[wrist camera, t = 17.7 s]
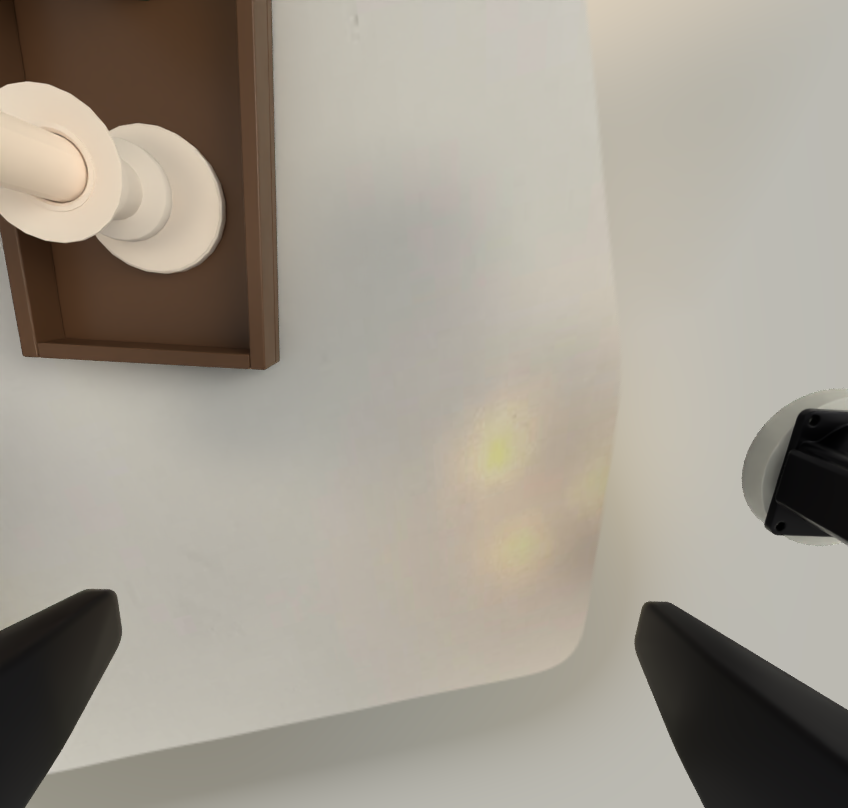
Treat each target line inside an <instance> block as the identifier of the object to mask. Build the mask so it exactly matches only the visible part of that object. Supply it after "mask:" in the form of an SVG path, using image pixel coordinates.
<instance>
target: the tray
mask: <svg viewBox="0 0 848 808" xmlns="http://www.w3.org/2000/svg"><path fill="white" fill-rule="evenodd" d="M26 81H29V82H36V83H43V84H49V85H51V86H54V87H56V88H58V89H61V90H63V91H65V92H68V93H70V94H72V95H73V96H74V97H76V98H77V99H79V100H80V101H81V102H83V103H84V104H85V105H87V106H88V107H89V108H91V110H92V111H93V112H94V113H95V114H96V115H97V116H98V118H99V119H100V120H101V121H102V122H103V123H104V124H105V126H106V127H107V129H108V131H110V130H112V129H114V128H116V127H118V126H122V125H129V124H135V123H141V124H148V125H155V126H159V127H162V128H164V129H166V130H169V131H171V132H173V133H176V134H177V135H179V136H180V137H182V138H183V139H185V140H186V141H187V142H189V143H190V144H191V145H193V146H194V147H195V148H197V149H198V150H199V151H200V153H201V154H202V155H203V156H204V157H205V158H206V160H207V161H208V162H209V163H210V164H211V166H212V168H213V170H214V171H215V173H216V175H217V177H218V179H219V181H220V183H221V186H222V190H223V194H224V198H225V202H226V222H225V226H224V230H223V234H222V238H221V240H220V242H219V243H218V245H217V247H216V248H215V250H214V252H213V253H212V254H211V255H210V256H209V257H208V258H207V259H206V260H205V261H204V262H202V263H201V264H200V265H198V266H196V267H194V268H191V269H189V270H187V271H184V272H178V273H171V274H164V273H155V272H146V271H144V270H141V269H138V268H136V267H133V266H130V265H128V264H126V263H125V262H123V261H122V260H120V259H119V258H117V257H116V256H114V255H113V254H112V253H111V252H110V251H109V250H108V249H107V248H106V247H105V246H104V245H103V244H102V243H101V242H100V241H99V240H98V239H97V237H96V235H94V236H92V237H90V238H88V239H86V240H83V241H77V242H71V243H61V242H52V241H45V240H42V239H40V238H37V237H34V236H32V235H29V234H26V233H25V232H23V231H22V230H20V229H19V228H17V227H15V226H14V225H12V224H11V223H9V222H8V221H7V220H6V219H5V218H4V217H3V216H2V215H1V214H0V232H1V238H2V243H3V249H4V254H5V260H6V265H7V271H8V276H9V282H10V287H11V293H12V298H13V304H14V310H15V315H16V321H17V326H18V332H19V337H20V343H21V348H22V354H23V356H25V357H41V358H58V359H76V360H94V361H112V362H130V363H148V364H166V365H184V366H202V367H220V368H238V369H250V368H251V369H256V370H265V369H267V368H269V367H270V366H272V365H274V364H275V363H277V362H279V318H278V274H277V230H276V186H275V142H274V98H273V54H272V10H271V0H149V1H148V0H147V1H143V0H0V88H2V87H4V86H6V85H8V84H13V83H20V82H26Z"/></svg>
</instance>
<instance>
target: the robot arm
mask: <svg viewBox="0 0 848 808" xmlns="http://www.w3.org/2000/svg"><path fill="white" fill-rule="evenodd" d="M811 418H812V419H811ZM810 419H811V421H810V422H809V420H810ZM777 524H778V525H777ZM764 525H765V528H766V529H768V530H769V531H770V532H772V533H773V534H775V535H787V536H816V537H834V538H836V539H838V540H839V541H841V542H843V543H845V544H846V545H848V410H834V409H815V408H808V409H804V410H803V411H801V412H800V413H799V414H798V416H797V419H796V422H795V425H794V428H793V432H792V435H791V438H790V441H789V445H788V448H787V451H786V454H785V458H784V461H783V464H782V467H781V471H780V474H779V477H778V480H777V484H776V487H775V490H774V493H773V497H772V500H771V503H770V506H769V510H768V513H767V516H766V519H765V524H764ZM121 636H122V626H121V619H120V612H119V605H118V598H117V595H116V593H115V592H114V591H112V590H110V589H86V590H83V591H81V592H79V593H77V594H75V595H73V596H70V597H68V598H66V599H64V600H62V601H60V602H58V603H56V604H54V605H52V606H50V607H48V608H46V609H44V610H42V611H40V612H38V613H36V614H34V615H32V616H30V617H28V618H26V619H24V620H21V621H19V622H17V623H15V624H13V625H11V626H9V627H7V628H5V629H3V630H1V631H0V808H25V806H26V805H27V803H28V802H29V800H30V799H31V797H32V796H33V794H34V793H35V791H36V789H37V788H38V786H39V785H40V783H41V782H42V780H43V779H44V777H45V776H46V774H47V773H48V771H49V769H50V768H51V766H52V765H53V763H54V761H55V760H56V758H57V757H58V755H59V754H60V752H61V750H62V748H63V747H64V745H65V743H66V741H67V740H68V738H69V736H70V735H71V733H72V731H73V729H74V727H75V725H76V724H77V722H78V720H79V718H80V716H81V714H82V713H83V711H84V709H85V707H86V705H87V703H88V701H89V700H90V698H91V696H92V694H93V692H94V690H95V689H96V687H97V685H98V683H99V681H100V679H101V678H102V676H103V674H104V672H105V670H106V668H107V667H108V665H109V663H110V661H111V659H112V657H113V655H114V654H115V652H116V650H117V648H118V646H119V643H120V640H121ZM635 650H636V653H637V656H638V659H639V661H640V664H641V666H642V669H643V671H644V674H645V676H646V678H647V681H648V684H649V686H650V689H651V691H652V693H653V696H654V698H655V701H656V703H657V706H658V708H659V711H660V713H661V715H662V718H663V720H664V723H665V725H666V728H667V730H668V733H669V735H670V737H671V739H672V742H673V744H674V746H675V749H676V751H677V753H678V755H679V757H680V759H681V761H682V763H683V766H684V768H685V770H686V772H687V774H688V775H689V778H690V780H691V782H692V783H693V786H694V787H695V789H696V791H697V793H698V795H699V797H700V799H701V801H702V803H703V805H704V807H705V808H848V710H847V709H845V708H844V707H842V706H840V705H839V704H837V703H835V702H834V701H832V700H830V699H829V698H827V697H825V696H824V695H822V694H820V693H819V692H817V691H815V690H814V689H812V688H811V687H809V686H807V685H806V684H804V683H802V682H801V681H799V680H797V679H795V678H794V677H792V676H791V675H789V674H787V673H786V672H784V671H782V670H781V669H779V668H777V667H776V666H774V665H773V664H771V663H769V662H768V661H766V660H764V659H763V658H761V657H759V656H758V655H756V654H754V653H753V652H751V651H749V650H748V649H746V648H744V647H743V646H741V645H739V644H738V643H736V642H735V641H733V640H731V639H730V638H728V637H726V636H724V635H723V634H721V633H720V632H718V631H716V630H715V629H713V628H711V627H710V626H708V625H706V624H705V623H703V622H702V621H700V620H698V619H697V618H695V617H693V616H692V615H690V614H688V613H687V612H685V611H683V610H682V609H680V608H678V607H677V606H675V605H673V604H672V603H669V602H646V603H645V604H644V605H643V607H642V610H641V614H640V618H639V622H638V627H637V631H636V635H635Z"/></svg>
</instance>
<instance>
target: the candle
mask: <svg viewBox="0 0 848 808" xmlns="http://www.w3.org/2000/svg"><path fill="white" fill-rule="evenodd" d="M0 214H1V215H2V216H3V217H4V218H5V219H6V220H7V221H8V222H9V223H11V224H12V225H14V226H15V227H17V228H19V229H20V230H22V231H23V232H25V233H26V234H29V235H32V236H34V237H37V238H40V239H42V240H45V241H52V242H61V243H71V242H77V241H83V240H86V239H88V238H90V237H92V236H94V235H96V237H97V239H98V240H99V241H100V242H101V243H102V244H103V245H104V246H105V247H106V248H107V249H108V250H109V251H110V252H111V253H112V254H113V255H114V256H116V257H117V258H119V259H120V260H122V261H123V262H125V263H126V264H128V265H130V266H133V267H136V268H138V269H141V270H144V271H146V272H155V273H164V274H171V273H178V272H184V271H187V270H189V269H191V268H194V267H196V266H198V265H200V264H201V263H202V262H204V261H205V260H206V259H207V258H208V257H209V256H210V255H211V254H212V253H213V252H214V250H215V248H216V247H217V245H218V243H219V242H220V240H221V238H222V234H223V230H224V226H225V222H226V202H225V198H224V194H223V190H222V186H221V183H220V181H219V179H218V177H217V175H216V173H215V171H214V170H213V168H212V166H211V164H210V163H209V162H208V161H207V160H206V158H205V157H204V156H203V155H202V154H201V153H200V151H199V150H198V149H197V148H195V147H194V146H193V145H191V144H190V143H189V142H187V141H186V140H185V139H183V138H182V137H180V136H179V135H177V134H176V133H173V132H171V131H169V130H166V129H164V128H162V127H159V126H155V125H148V124H141V123H135V124H129V125H122V126H118V127H116V128H114V129H112V130H110V131H108V129H107V127H106V126H105V124H104V123H103V122H102V121H101V120H100V119H99V118H98V116H97V115H96V114H95V113H94V112H93V111H92V110H91V108H89V107H88V106H87V105H85V104H84V103H83V102H81V101H80V100H79V99H77V98H76V97H74V96H73V95H72V94H70V93H68V92H65V91H63V90H61V89H58V88H56V87H54V86H51V85H49V84H43V83H36V82H29V81H26V82H20V83H13V84H8V85H6V86H4V87H2V88H0Z"/></svg>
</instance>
